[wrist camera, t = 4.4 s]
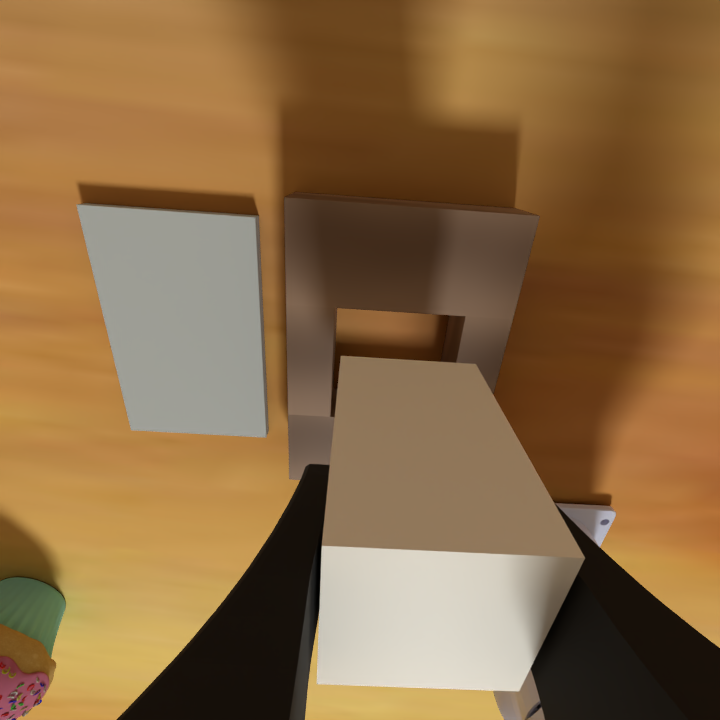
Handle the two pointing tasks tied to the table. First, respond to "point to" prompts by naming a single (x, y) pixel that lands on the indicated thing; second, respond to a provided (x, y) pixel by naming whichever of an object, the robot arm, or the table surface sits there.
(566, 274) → the table surface
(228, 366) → the grey mat
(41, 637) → the cupcake
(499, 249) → the pocket board
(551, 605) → the cream block
